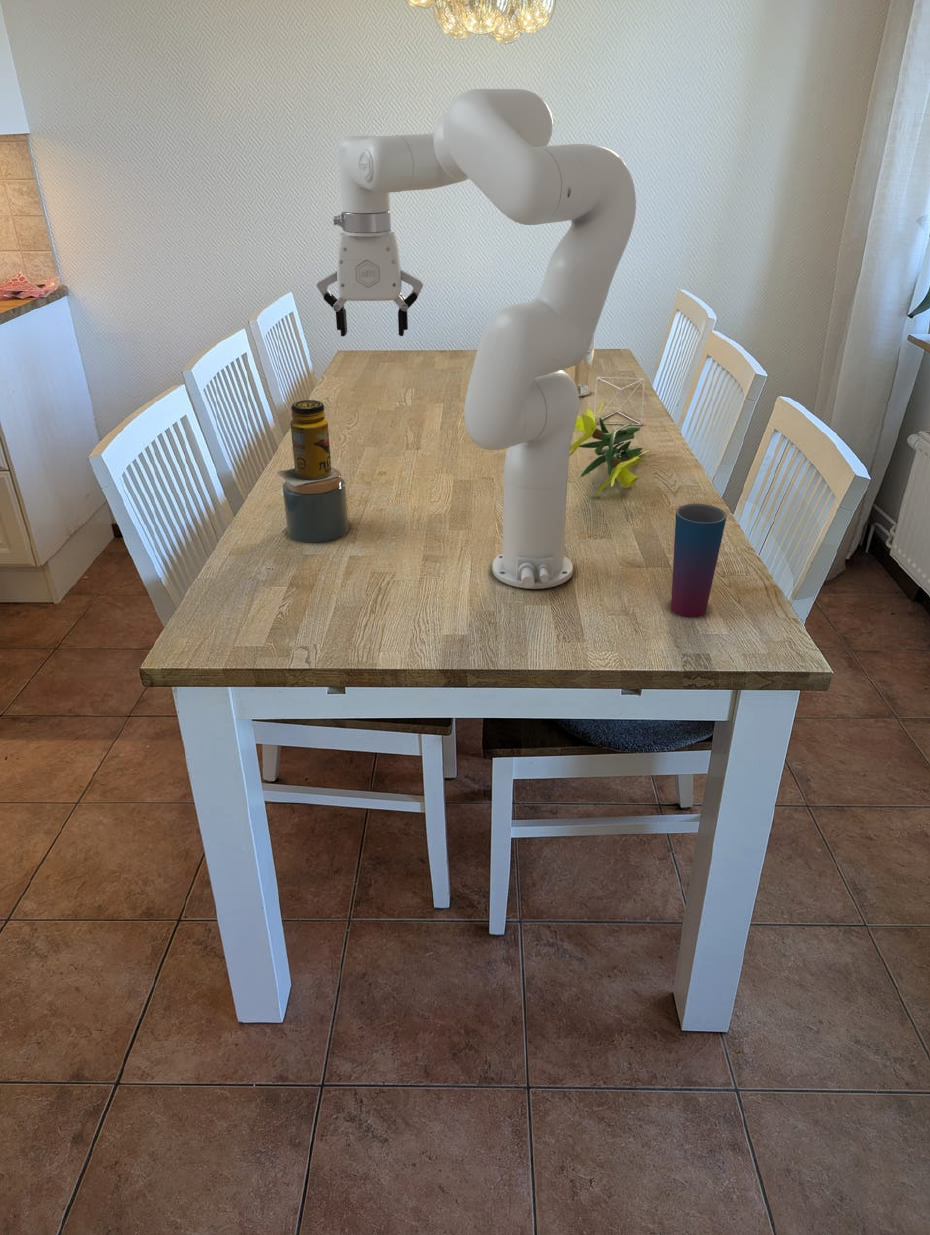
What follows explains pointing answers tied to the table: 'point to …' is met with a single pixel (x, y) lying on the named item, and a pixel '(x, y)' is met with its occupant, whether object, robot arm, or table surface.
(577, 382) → the beer glass
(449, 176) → the robot arm
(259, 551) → the table surface
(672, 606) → the cup
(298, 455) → the yellow coffee bottle
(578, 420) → the daffodil flowers
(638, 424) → the geometric polyhedron
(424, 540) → the table surface
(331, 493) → the blue jar
